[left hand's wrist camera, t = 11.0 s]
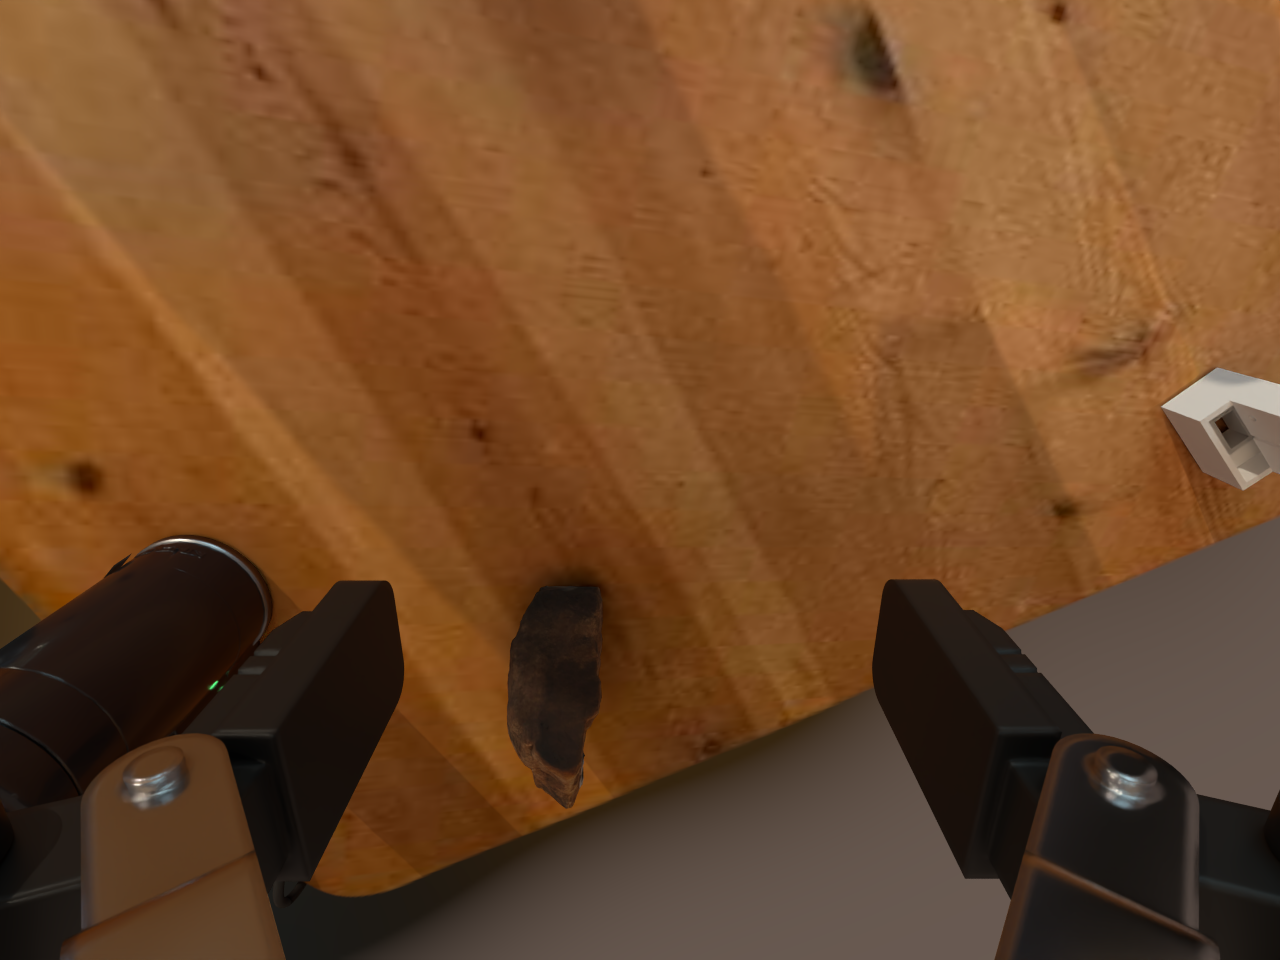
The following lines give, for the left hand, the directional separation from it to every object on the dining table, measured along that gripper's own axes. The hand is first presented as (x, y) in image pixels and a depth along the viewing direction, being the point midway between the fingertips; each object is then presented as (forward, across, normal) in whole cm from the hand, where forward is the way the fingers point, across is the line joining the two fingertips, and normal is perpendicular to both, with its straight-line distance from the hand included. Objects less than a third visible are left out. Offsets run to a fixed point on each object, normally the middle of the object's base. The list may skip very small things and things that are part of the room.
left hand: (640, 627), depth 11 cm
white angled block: (+32, +35, -6) cm, 48 cm away
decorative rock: (+32, -5, -22) cm, 39 cm away
